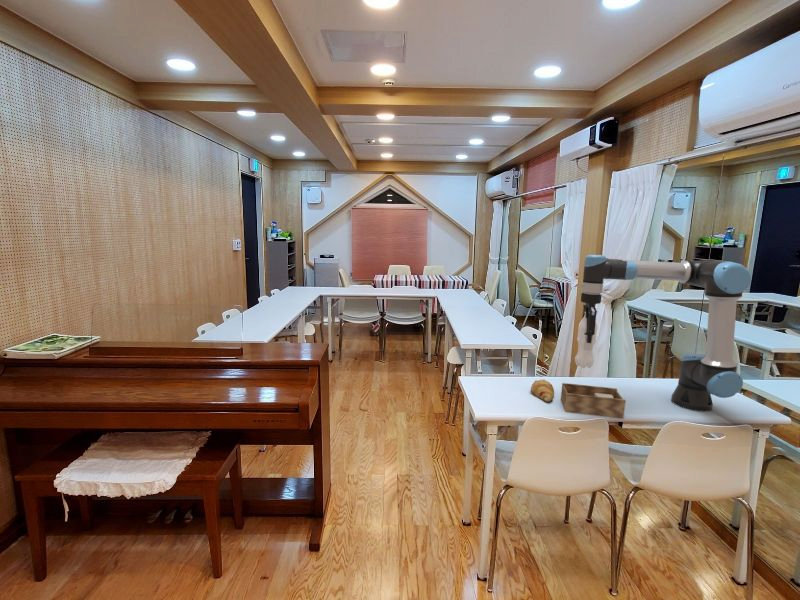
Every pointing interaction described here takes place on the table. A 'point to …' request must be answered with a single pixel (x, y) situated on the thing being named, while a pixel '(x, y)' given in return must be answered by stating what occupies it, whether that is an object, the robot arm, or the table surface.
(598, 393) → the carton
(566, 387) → the crate
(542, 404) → the table surface
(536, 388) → the croissant
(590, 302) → the robot arm
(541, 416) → the table surface
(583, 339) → the water bottle
